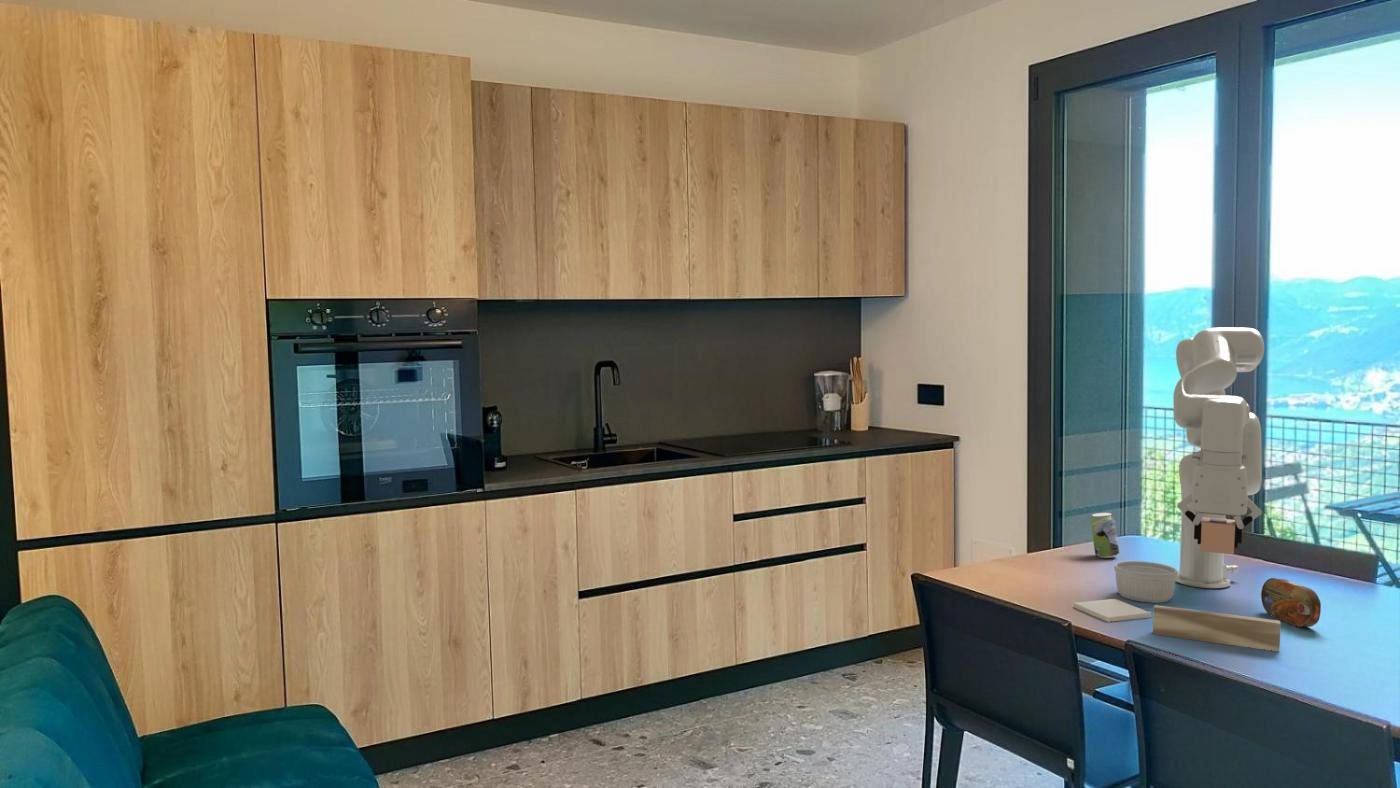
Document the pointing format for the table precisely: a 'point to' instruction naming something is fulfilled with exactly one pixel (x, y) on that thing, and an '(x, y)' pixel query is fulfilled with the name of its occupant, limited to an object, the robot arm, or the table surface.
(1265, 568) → the table surface
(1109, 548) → the beverage can
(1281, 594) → the tin
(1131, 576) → the ramekin
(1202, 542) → the marked cube
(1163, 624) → the wooden plank
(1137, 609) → the display tile
